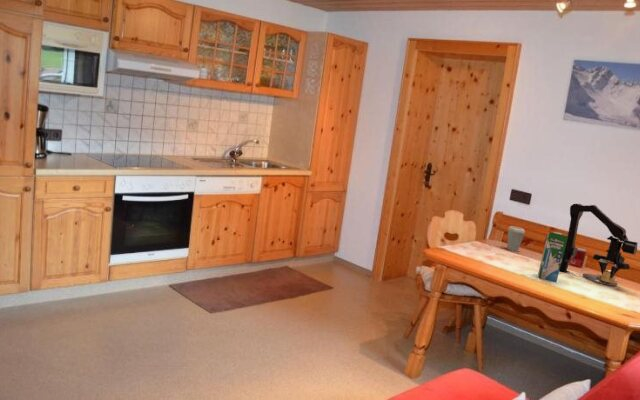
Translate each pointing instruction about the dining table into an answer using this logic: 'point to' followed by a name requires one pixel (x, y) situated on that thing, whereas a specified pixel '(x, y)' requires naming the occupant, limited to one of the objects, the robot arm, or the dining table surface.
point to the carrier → (596, 279)
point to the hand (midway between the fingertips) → (607, 276)
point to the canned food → (578, 258)
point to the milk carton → (552, 256)
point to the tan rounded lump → (606, 276)
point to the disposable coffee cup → (514, 237)
